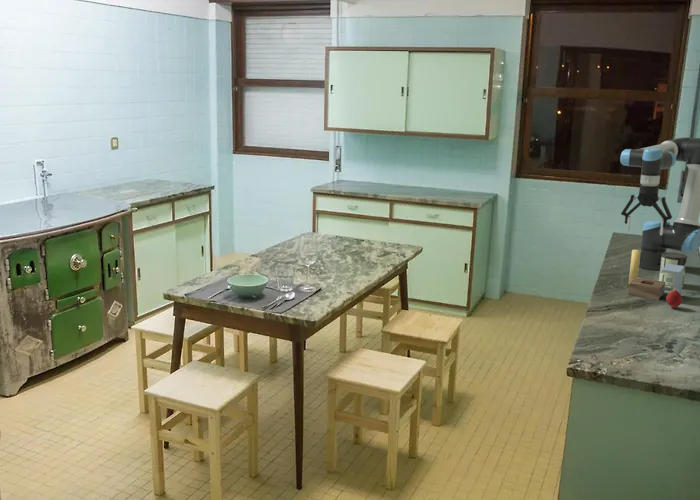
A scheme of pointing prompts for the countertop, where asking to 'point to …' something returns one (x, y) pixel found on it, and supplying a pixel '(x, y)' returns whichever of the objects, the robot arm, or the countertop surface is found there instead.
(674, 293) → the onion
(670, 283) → the coffee can
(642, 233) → the robot arm
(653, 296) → the socket block
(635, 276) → the peg
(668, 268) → the light blue box
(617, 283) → the countertop surface
